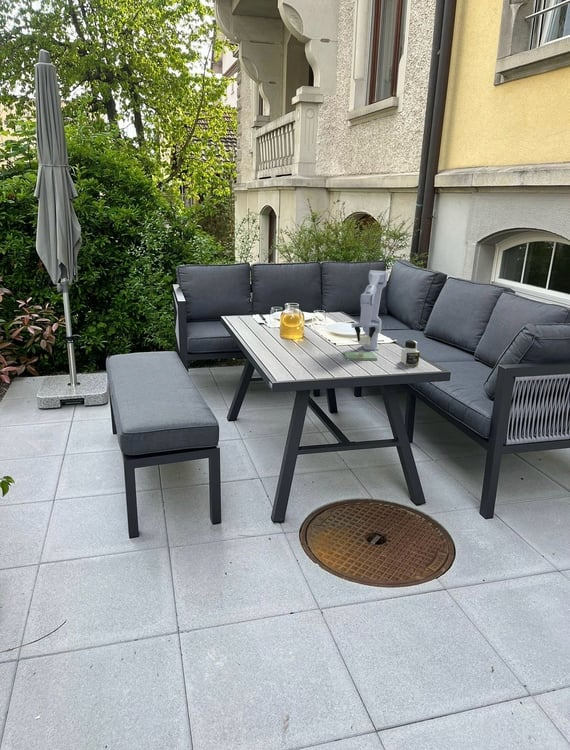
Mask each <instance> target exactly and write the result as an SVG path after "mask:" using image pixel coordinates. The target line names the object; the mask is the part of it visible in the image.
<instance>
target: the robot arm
mask: <svg viewBox="0 0 570 750" xmlns="http://www.w3.org/2000/svg"><path fill="white" fill-rule="evenodd" d="M387 271H388V270H372V269H370V270H369V272H368V282H369V284H367V286H366V287H365V290H364V292H363V293H361V294H360V298H359V299H360V300H359V302H360V319H359V322H357V323H354V322H353V323H351V328H354V330H355V333H356V336H357V337H356V339H357V340H356V341H357V342H358V341H360V336H361V328H362V332H364V335H363V336H369V337H370V338H371V339H370V345H368V344H362V345H361V347H362V348H363V349H364V351H367V350H368V351H371V350H372V351H379V350H380V349H379V347H378V337H379V334H381V331H382V327H383V326H382V323H383V321H382V319H381V318H380V317H379V310H380V303H381V297H382V293H383V289H384V288H385V287H386V286H387V284H388V283H387V282H388V276H389V274H388V272H387Z"/></svg>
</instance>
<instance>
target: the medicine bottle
mask: <svg viewBox="0 0 570 750" xmlns="http://www.w3.org/2000/svg"><path fill="white" fill-rule="evenodd" d="M404 343H405V345H404V348H401V352H400V355H401V356H400V362H401V363H402V364H403V363H404V365H405V366H418V365H419V364H420V363H419V361H420V353H421V352H420V351H419V350H418V342H417V341H416V340H411V339H410V340H406V341H405V342H404ZM417 364H418V365H417Z"/></svg>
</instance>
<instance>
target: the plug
mask: <svg viewBox="0 0 570 750" xmlns="http://www.w3.org/2000/svg"><path fill="white" fill-rule="evenodd" d="M370 339H371V338H370V337H369V336H364V335H360V341H358V340H357V343H358V345H360V346H362V345H364V344H368V345H370Z"/></svg>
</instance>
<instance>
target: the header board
mask: <svg viewBox="0 0 570 750" xmlns="http://www.w3.org/2000/svg"><path fill="white" fill-rule="evenodd" d="M342 354H343V356H344V357H345V358H347V359H346V360H347V361H378V357H377V356H376V355H375V354H374V352H373V351H368V352H367V351H366V352H365V349H364V350H363V349H361V350H358V351H343V353H342Z"/></svg>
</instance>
